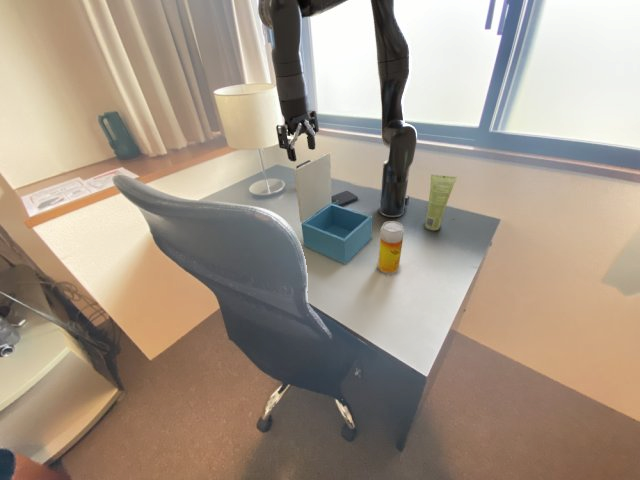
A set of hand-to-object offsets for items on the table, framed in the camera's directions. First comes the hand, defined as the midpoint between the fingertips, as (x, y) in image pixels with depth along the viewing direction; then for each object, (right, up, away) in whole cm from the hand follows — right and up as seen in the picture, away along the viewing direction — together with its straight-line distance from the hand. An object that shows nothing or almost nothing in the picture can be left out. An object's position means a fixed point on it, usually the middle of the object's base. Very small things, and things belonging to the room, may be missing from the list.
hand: (302, 154), depth 80 cm
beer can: (+25, -34, +2) cm, 42 cm away
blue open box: (+11, -26, +14) cm, 31 cm away
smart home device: (+11, -10, +36) cm, 39 cm away
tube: (+45, -21, +17) cm, 53 cm away
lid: (+4, -8, +7) cm, 12 cm away
